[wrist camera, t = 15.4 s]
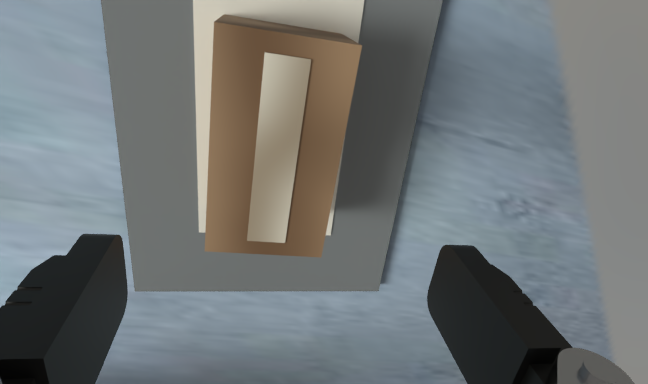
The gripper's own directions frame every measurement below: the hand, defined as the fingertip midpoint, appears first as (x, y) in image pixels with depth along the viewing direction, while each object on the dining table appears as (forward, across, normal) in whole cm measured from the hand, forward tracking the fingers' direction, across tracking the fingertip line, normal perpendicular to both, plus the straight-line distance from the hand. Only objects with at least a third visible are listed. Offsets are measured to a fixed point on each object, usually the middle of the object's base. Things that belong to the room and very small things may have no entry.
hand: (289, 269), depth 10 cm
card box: (+10, 0, -1) cm, 10 cm away
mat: (+11, 0, -1) cm, 11 cm away
